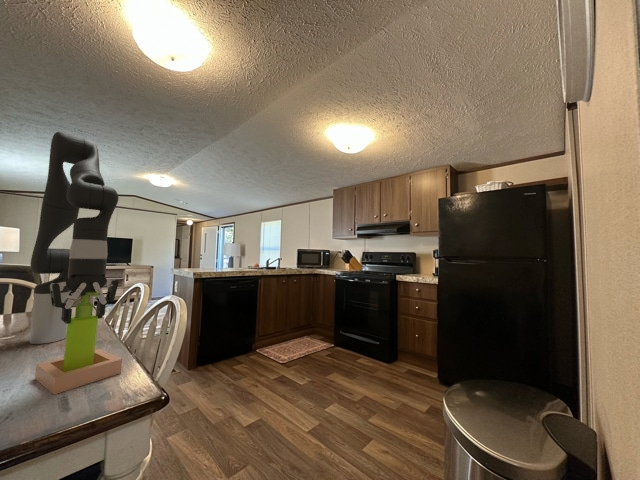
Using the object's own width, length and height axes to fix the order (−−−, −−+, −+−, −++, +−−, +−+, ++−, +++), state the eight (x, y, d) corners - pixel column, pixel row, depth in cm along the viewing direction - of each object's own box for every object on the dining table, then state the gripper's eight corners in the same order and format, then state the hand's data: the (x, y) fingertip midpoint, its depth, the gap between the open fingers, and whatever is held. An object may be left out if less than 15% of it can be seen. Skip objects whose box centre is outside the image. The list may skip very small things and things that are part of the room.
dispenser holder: (34, 378, 65) (36, 363, 65) (98, 361, 76) (99, 348, 77) (53, 394, 58) (55, 378, 58) (121, 372, 69) (121, 359, 69)
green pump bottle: (77, 375, 64) (85, 293, 65) (56, 371, 65) (64, 292, 67) (102, 365, 70) (108, 291, 71) (81, 362, 71) (89, 289, 72)
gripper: (114, 257, 77) (110, 313, 76) (46, 256, 65) (40, 324, 64) (126, 257, 73) (121, 317, 72) (56, 257, 61) (50, 329, 60)
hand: (83, 320), depth 68 cm, fingers closed on green pump bottle, 6 cm apart
